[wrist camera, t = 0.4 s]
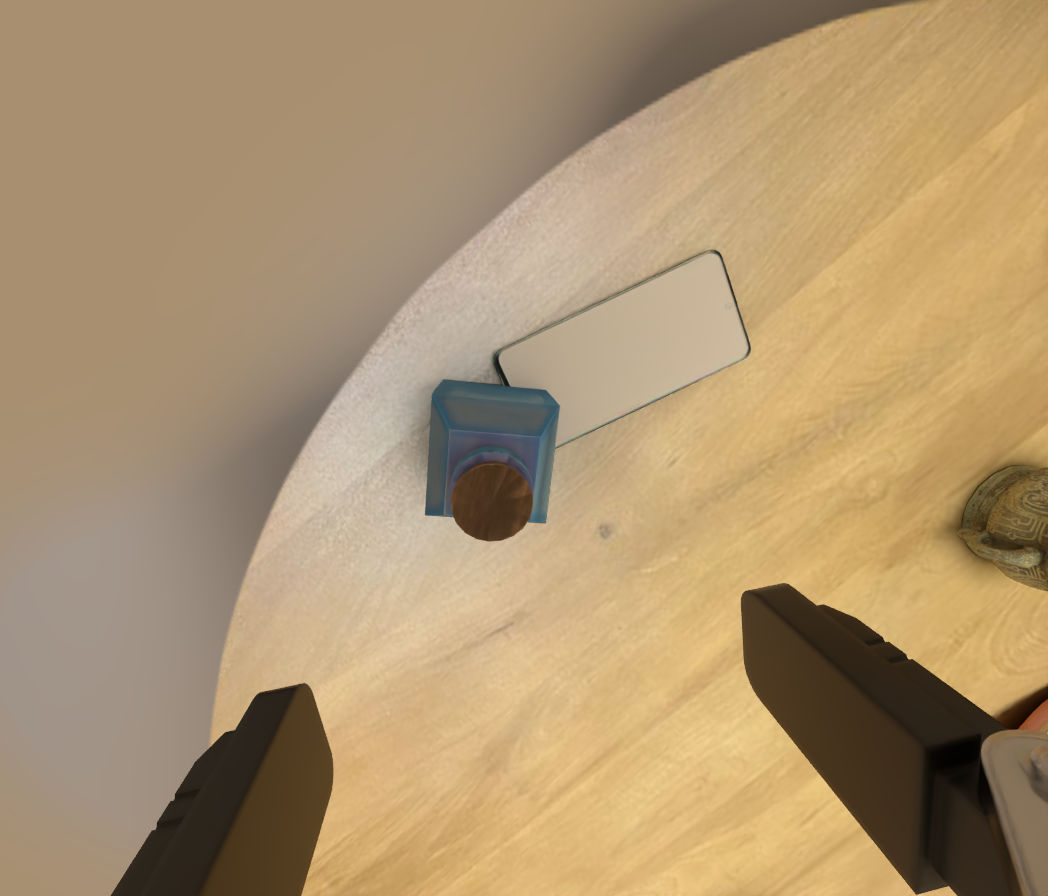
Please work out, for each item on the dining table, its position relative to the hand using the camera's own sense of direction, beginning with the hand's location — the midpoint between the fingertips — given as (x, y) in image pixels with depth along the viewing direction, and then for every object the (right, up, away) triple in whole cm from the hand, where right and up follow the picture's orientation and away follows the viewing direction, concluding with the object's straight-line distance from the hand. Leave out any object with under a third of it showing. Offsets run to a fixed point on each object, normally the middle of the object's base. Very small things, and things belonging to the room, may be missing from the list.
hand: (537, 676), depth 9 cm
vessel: (+36, -1, +28) cm, 45 cm away
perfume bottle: (-2, +5, +21) cm, 22 cm away
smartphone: (+6, +10, +21) cm, 24 cm away
